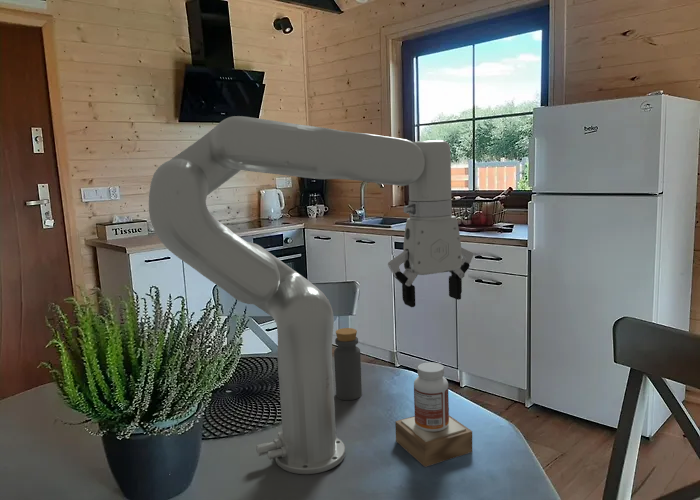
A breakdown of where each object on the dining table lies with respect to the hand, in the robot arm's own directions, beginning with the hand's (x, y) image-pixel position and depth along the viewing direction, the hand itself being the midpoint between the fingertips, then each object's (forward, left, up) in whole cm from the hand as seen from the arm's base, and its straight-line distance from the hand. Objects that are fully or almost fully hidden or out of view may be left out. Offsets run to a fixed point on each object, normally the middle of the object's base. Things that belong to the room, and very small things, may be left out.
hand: (432, 301), depth 103 cm
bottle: (-8, +23, -26) cm, 36 cm away
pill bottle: (-4, -5, -22) cm, 22 cm away
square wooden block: (-4, -5, -26) cm, 26 cm away
